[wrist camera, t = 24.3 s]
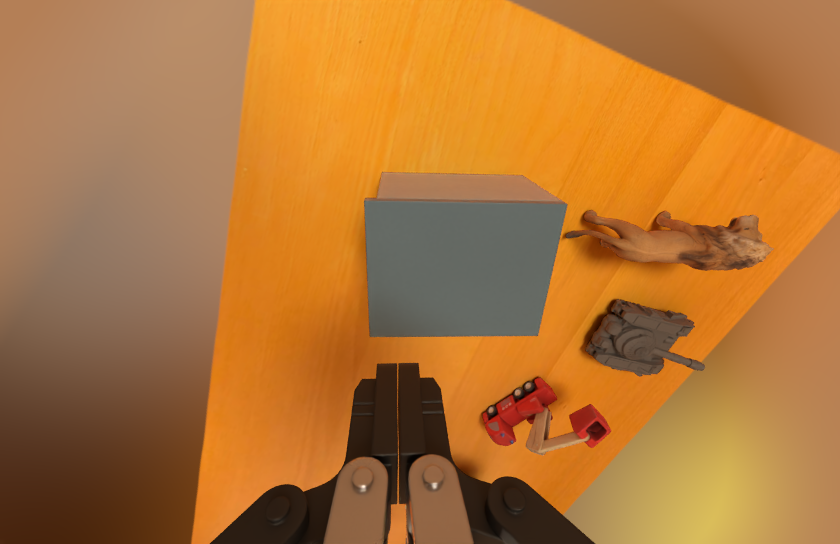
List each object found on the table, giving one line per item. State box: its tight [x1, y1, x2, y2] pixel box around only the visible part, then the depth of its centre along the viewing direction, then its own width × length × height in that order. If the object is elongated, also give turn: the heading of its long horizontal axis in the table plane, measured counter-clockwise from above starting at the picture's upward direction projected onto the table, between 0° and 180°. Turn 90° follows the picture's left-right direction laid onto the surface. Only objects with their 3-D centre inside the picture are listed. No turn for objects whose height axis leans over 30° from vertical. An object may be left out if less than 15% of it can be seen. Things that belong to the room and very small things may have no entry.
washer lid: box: [364, 198, 567, 337], centre depth 27 cm, size 14×12×1 cm
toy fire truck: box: [483, 377, 611, 455], centre depth 43 cm, size 3×14×10 cm, turn 132°
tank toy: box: [585, 299, 705, 376], centre depth 41 cm, size 12×10×5 cm
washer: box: [377, 172, 562, 201], centre depth 32 cm, size 14×12×9 cm
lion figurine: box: [566, 210, 774, 271], centre depth 33 cm, size 15×5×9 cm, turn 96°
